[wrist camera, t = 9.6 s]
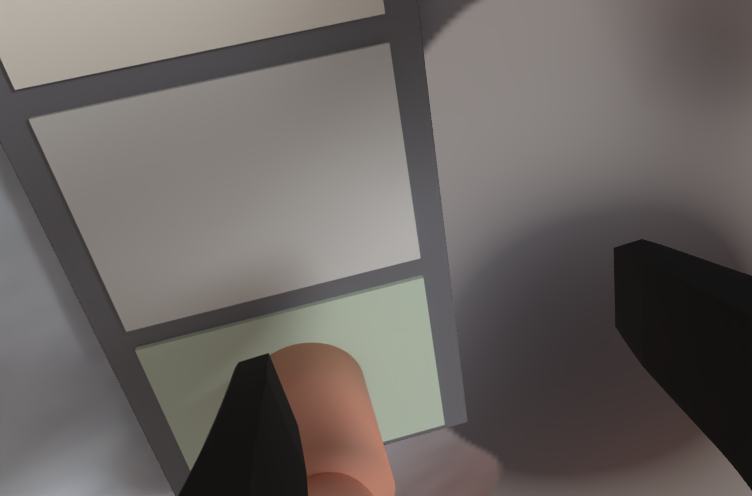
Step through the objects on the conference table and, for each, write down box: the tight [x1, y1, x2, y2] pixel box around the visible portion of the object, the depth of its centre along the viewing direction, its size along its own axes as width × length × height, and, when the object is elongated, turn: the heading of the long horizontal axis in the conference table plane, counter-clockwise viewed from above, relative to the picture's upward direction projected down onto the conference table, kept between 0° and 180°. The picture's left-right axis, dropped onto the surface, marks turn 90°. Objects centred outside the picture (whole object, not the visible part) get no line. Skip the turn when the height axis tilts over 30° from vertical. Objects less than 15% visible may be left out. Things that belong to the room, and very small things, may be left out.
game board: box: [0, 0, 467, 496], centre depth 17 cm, size 12×33×1 cm, turn 9°
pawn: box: [270, 342, 395, 496], centre depth 19 cm, size 4×4×8 cm
